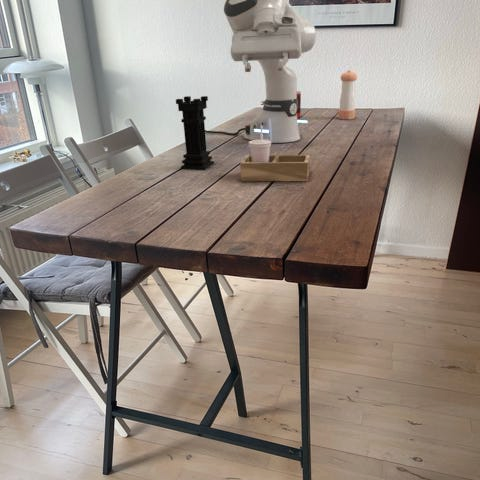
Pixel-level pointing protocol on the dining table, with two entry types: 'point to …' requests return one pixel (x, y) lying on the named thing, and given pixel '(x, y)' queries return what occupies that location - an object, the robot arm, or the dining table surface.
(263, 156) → the smoothie
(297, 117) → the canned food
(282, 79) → the robot arm
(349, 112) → the salt shaker
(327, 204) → the dining table surface
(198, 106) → the chess piece
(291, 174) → the rack
